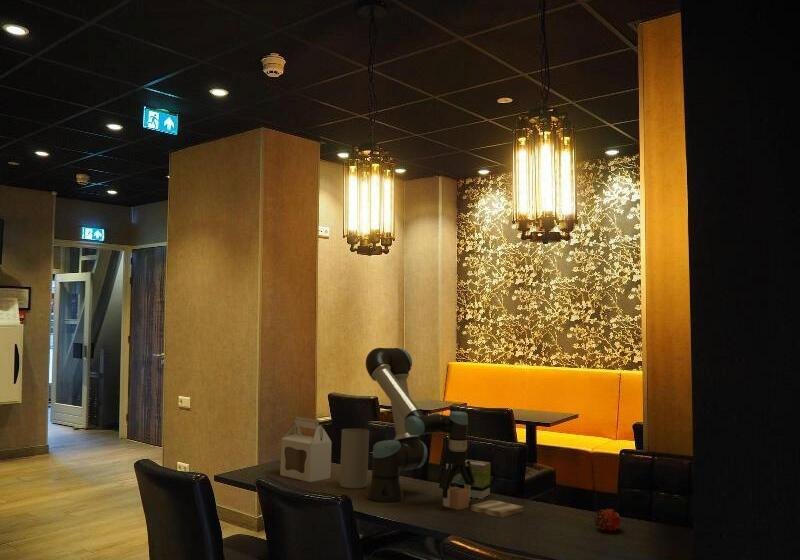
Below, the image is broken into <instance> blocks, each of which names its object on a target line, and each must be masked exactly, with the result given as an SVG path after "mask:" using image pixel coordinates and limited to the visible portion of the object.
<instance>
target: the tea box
mask: <svg viewBox="0 0 800 560" xmlns="http://www.w3.org/2000/svg"><path fill="white" fill-rule="evenodd" d="M467 461H470V467H471V470H472V474H473V477H474V480H475V482H474V483H473V485H471V492H470V497H472V498H471V499H475V498H478V499H477V500H480V499H482V500H484V499H485V498H484V497H486V496H488V495H489V494H491V471H492V470H491V466H492V465H491V463H492V462H490V461H482V460H473V459H467ZM464 484H466V483H465V481H464V479H463V477H462V476H461V474H460V473H459V474H456V476H454V478H453V480H452V483H451V485H450V488H452V487H459V488H464ZM489 496H490V495H489ZM489 496H488V497H489ZM483 498H484V499H483ZM486 498H487V497H486Z"/></svg>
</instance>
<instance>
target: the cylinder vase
mask: <svg viewBox="0 0 800 560" xmlns="http://www.w3.org/2000/svg"><path fill="white" fill-rule="evenodd" d="M369 440H370V430H368V429H365V428H343V429H341V442H340V445H341V446H340V447H341V448H340V467H339V468H340V469H339V486H340V487H342V488H343V489H350V490H351V489H353V490H358V489H364V488H366V487H367V486H368V474H369V473H368V471H369V445H370V444H369V443H370V442H369Z"/></svg>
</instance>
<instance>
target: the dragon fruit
mask: <svg viewBox="0 0 800 560" xmlns="http://www.w3.org/2000/svg"><path fill="white" fill-rule="evenodd" d="M595 512H596V515H595V516H594V525H595V526H596V527H599V528H600V529H601V531H602V532H604V533H605V532H607V531H610V532H616V531H617V529H618V527H620V524H621V522H622V521H621V519H620V515H619V513H618V512H617V511H615V510H614V509H613V508H610V509H609V508H604V509H599V510H597V511H595Z"/></svg>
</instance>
